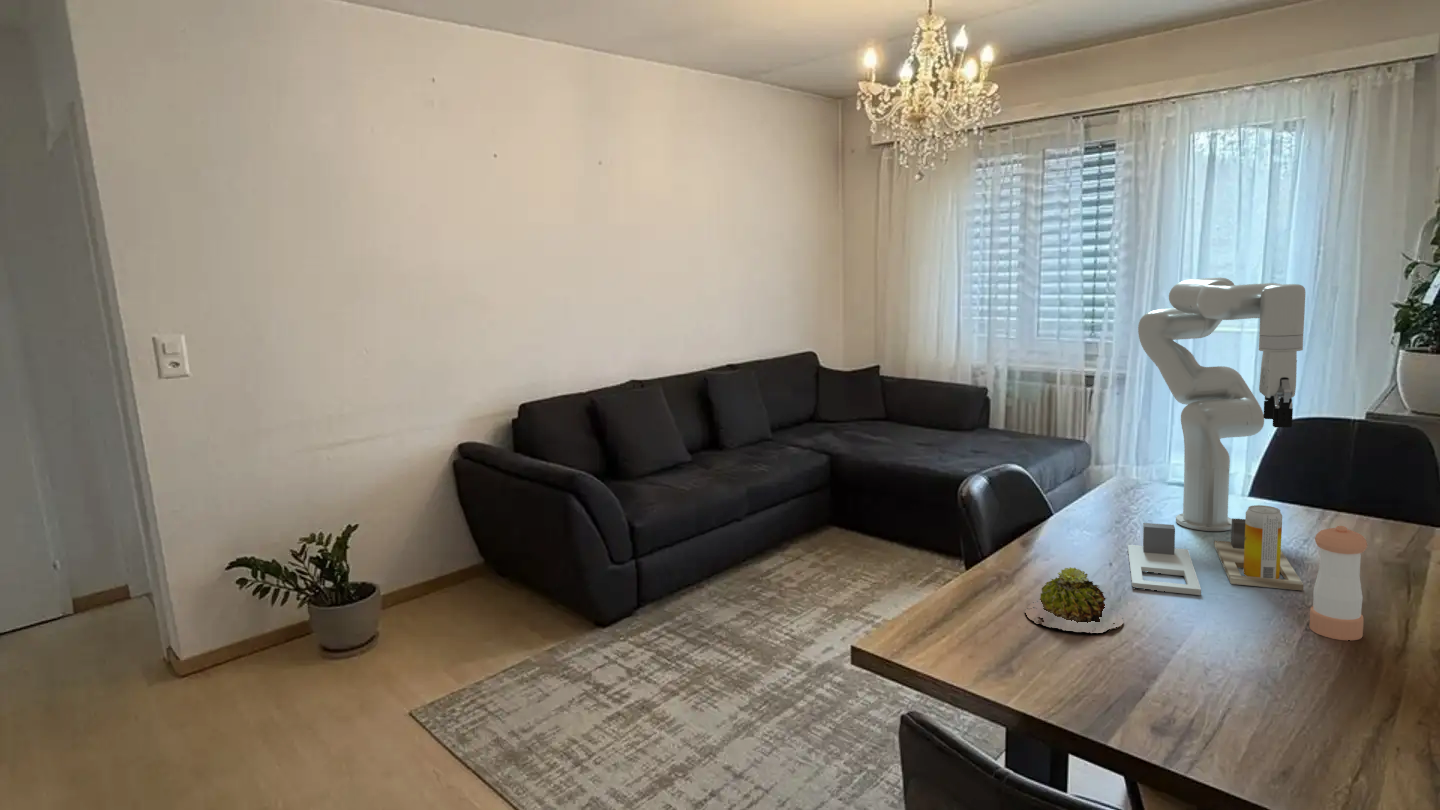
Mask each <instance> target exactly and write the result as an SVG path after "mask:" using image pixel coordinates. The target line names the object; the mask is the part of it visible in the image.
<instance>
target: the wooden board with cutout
mask: <svg viewBox="0 0 1440 810" xmlns="http://www.w3.org/2000/svg"><path fill="white" fill-rule="evenodd" d="M1231 519H1232V528H1231V530H1230V532H1231V533H1230V536H1231V537H1230V541H1225V540H1214V542H1213V543H1214V549H1215V550H1216V553H1217V555H1218V558H1219V560H1220V562H1221V565H1222V568H1223V569H1224V572H1225V574H1226V577H1227V580H1228V581H1229V583H1230V584H1231V585H1240V586H1250V587H1259V588H1260V587H1262V588H1271V589H1273V588H1274V589H1282V590H1293V591H1303V592H1304V589H1305V588H1304V587H1305V585H1304V583H1303V581H1302V580H1301V578H1300V577H1299V575H1298V574H1297V573H1296V571H1295V569H1294V568H1293V566H1292V564H1291V563H1290V562H1289V560H1288V558H1287V557H1286V556H1285V554H1284V553H1283V550H1281V556H1280V575H1282V577H1283V579H1281V578H1279V579H1272V578H1261V577H1250V576H1245V575H1241V572H1240V570H1239V569H1243V568H1244V543H1245V519H1246V518H1245V519H1243V518H1231Z"/></svg>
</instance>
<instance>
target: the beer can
mask: <svg viewBox="0 0 1440 810" xmlns="http://www.w3.org/2000/svg"><path fill="white" fill-rule="evenodd" d="M1247 508H1248V509H1247V510H1246V511H1245V543H1244V568H1242V573H1243V576H1250V577H1261V578H1272V579H1280V576H1281V572H1280V556H1281V551H1282V533H1283V532H1282V530H1283V515H1282V513H1281V510H1280V509H1279V508H1277V507H1274V506H1272V505H1271V506H1270V505H1269V506H1268V505H1261V504H1256V505H1250V506H1248V507H1247Z"/></svg>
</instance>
